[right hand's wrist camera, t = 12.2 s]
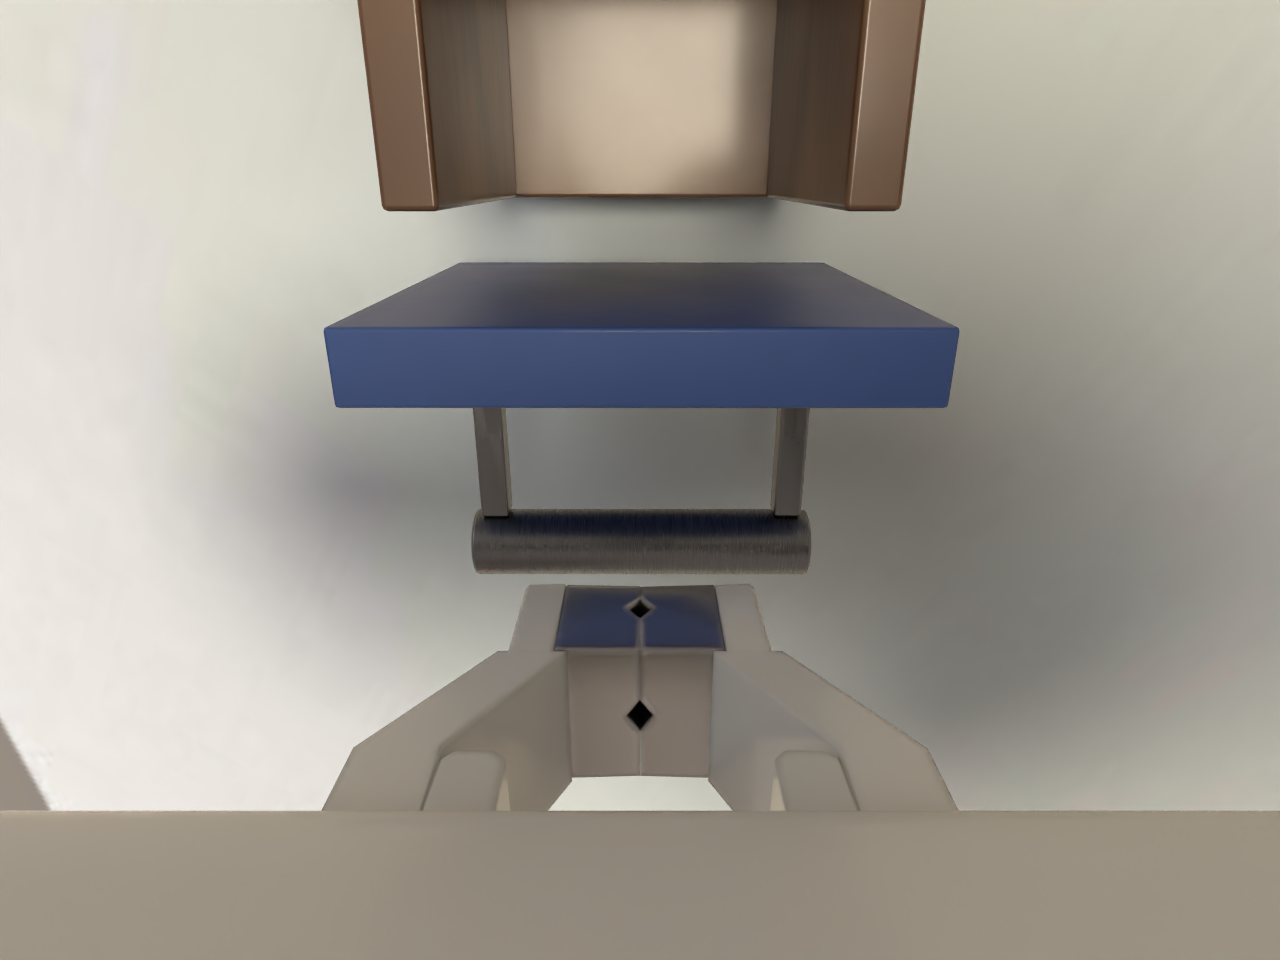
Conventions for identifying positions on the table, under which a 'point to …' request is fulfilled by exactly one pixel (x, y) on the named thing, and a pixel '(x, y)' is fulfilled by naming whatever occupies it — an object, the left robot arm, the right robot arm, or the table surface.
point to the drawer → (641, 292)
